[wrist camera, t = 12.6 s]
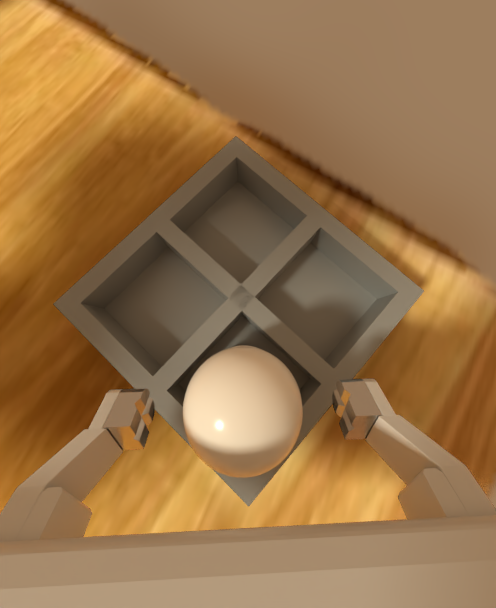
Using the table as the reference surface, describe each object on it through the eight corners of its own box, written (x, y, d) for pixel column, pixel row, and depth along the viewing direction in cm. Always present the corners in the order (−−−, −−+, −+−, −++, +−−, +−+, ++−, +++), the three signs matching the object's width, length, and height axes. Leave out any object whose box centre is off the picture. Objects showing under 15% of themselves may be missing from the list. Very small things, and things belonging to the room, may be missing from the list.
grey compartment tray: (88, 311, 18) (51, 304, 15) (237, 170, 20) (235, 135, 17) (247, 473, 16) (248, 508, 13) (391, 300, 19) (425, 290, 15)
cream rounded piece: (193, 383, 16) (132, 430, 8) (242, 330, 17) (238, 317, 8) (245, 435, 16) (246, 551, 7) (293, 379, 17) (350, 420, 8)
